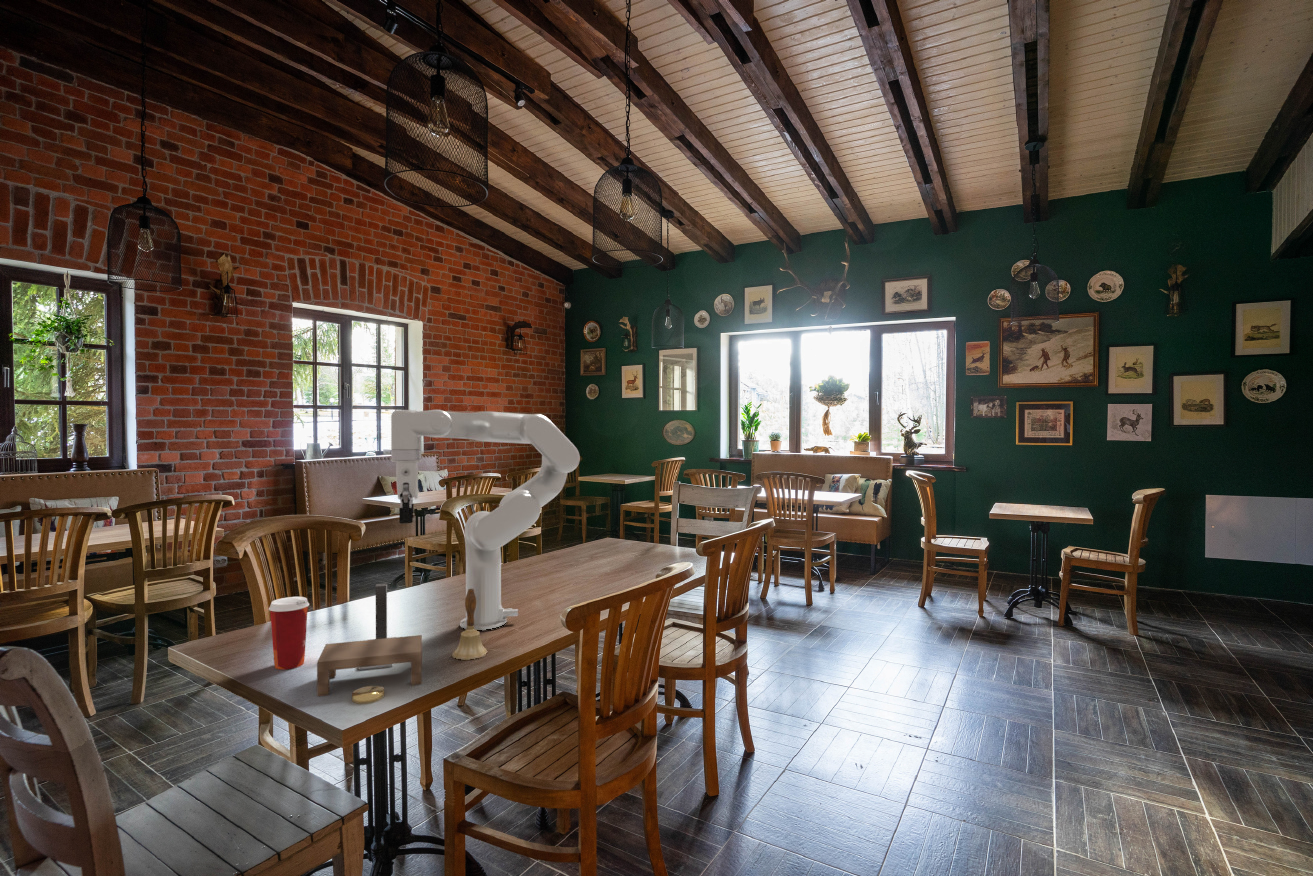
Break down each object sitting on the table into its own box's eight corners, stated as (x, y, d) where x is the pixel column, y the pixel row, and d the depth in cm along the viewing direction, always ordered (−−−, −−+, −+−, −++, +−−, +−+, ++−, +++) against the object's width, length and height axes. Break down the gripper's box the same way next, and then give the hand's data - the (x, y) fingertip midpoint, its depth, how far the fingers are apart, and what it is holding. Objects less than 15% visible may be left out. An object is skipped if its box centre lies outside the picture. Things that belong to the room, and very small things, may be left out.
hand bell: (493, 650, 162) (493, 586, 162) (477, 661, 154) (477, 594, 154) (463, 647, 164) (463, 584, 164) (445, 659, 156) (445, 592, 156)
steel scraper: (396, 641, 169) (396, 582, 169) (392, 667, 151) (392, 601, 151) (367, 644, 167) (366, 584, 167) (359, 670, 149) (358, 604, 148)
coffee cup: (317, 661, 154) (317, 597, 154) (287, 673, 146) (287, 606, 146) (290, 657, 157) (290, 594, 157) (259, 669, 149) (259, 603, 149)
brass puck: (384, 691, 137) (384, 684, 137) (383, 702, 132) (383, 695, 131) (353, 695, 135) (353, 688, 135) (350, 707, 129) (350, 699, 129)
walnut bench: (421, 665, 152) (421, 635, 152) (421, 684, 140) (421, 651, 140) (326, 675, 145) (325, 644, 145) (317, 696, 134) (317, 662, 134)
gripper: (421, 457, 167) (421, 524, 168) (421, 455, 184) (422, 516, 184) (389, 457, 165) (389, 525, 165) (393, 455, 181) (393, 517, 181)
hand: (406, 520), depth 175 cm, fingers open, 9 cm apart
